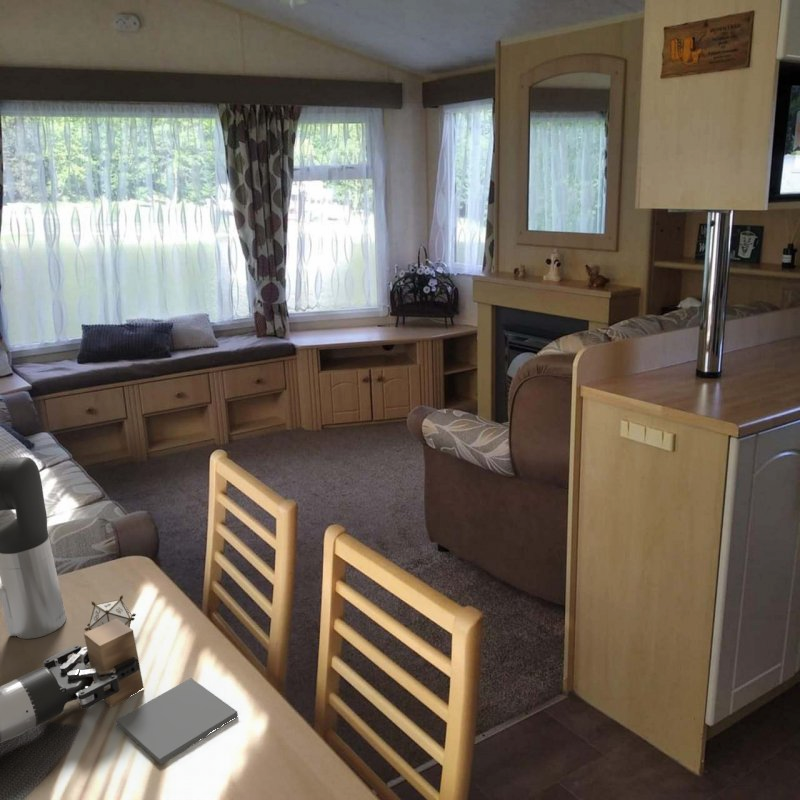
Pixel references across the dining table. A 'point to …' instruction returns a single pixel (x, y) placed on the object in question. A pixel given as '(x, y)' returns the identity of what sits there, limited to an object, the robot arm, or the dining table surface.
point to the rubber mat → (175, 720)
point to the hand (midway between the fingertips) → (125, 653)
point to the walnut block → (114, 656)
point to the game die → (110, 613)
